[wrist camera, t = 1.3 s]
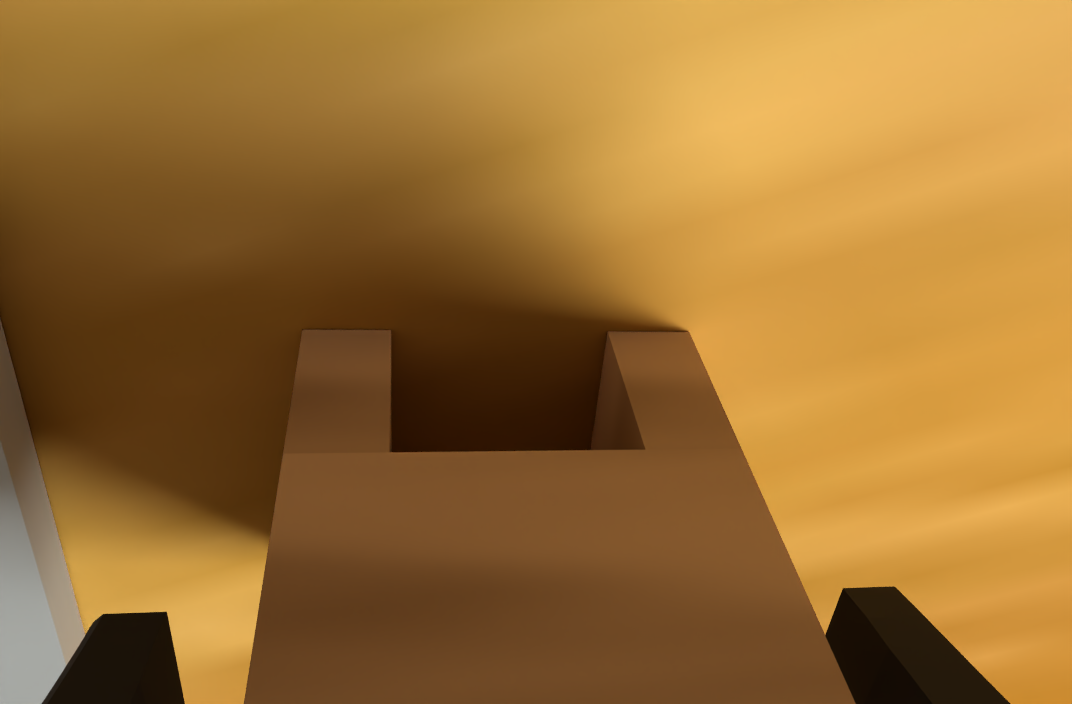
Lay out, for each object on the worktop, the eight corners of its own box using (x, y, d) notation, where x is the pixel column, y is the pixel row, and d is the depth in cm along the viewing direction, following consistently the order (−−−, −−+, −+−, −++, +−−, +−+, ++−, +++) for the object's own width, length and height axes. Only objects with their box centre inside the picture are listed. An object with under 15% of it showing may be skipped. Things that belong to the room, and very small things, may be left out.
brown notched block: (642, 562, 15) (758, 980, 10) (317, 570, 14) (275, 1023, 10) (689, 331, 13) (868, 732, 8) (302, 329, 12) (234, 767, 7)
